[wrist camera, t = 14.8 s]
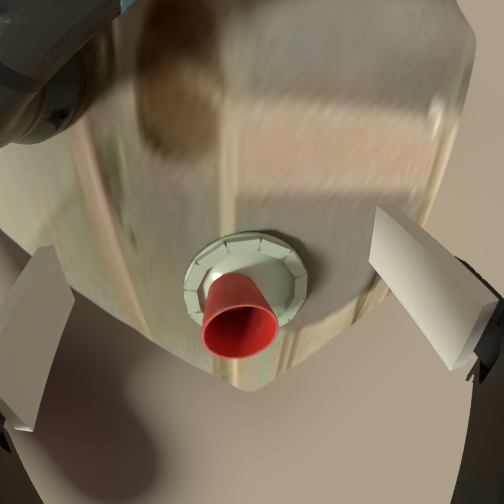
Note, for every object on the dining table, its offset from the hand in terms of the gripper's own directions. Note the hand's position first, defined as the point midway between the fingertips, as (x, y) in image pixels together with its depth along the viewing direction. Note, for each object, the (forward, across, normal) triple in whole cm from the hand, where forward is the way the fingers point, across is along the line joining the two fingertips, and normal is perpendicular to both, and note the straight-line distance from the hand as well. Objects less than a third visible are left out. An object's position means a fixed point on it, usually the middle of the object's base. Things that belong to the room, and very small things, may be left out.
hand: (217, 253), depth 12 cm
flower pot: (+31, +2, -26) cm, 40 cm away
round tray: (+32, +4, -26) cm, 41 cm away
